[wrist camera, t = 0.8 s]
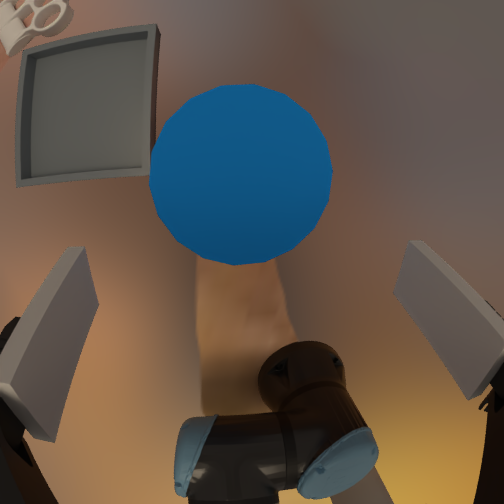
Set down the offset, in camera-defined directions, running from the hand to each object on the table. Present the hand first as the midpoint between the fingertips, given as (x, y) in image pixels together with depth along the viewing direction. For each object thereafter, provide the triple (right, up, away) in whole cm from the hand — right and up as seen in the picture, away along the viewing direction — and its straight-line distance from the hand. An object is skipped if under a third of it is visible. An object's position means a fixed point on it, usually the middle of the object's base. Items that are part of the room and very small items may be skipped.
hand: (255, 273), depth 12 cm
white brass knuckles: (-34, +40, +17) cm, 55 cm away
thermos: (-4, +12, +29) cm, 32 cm away
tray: (-23, +21, +24) cm, 39 cm away
